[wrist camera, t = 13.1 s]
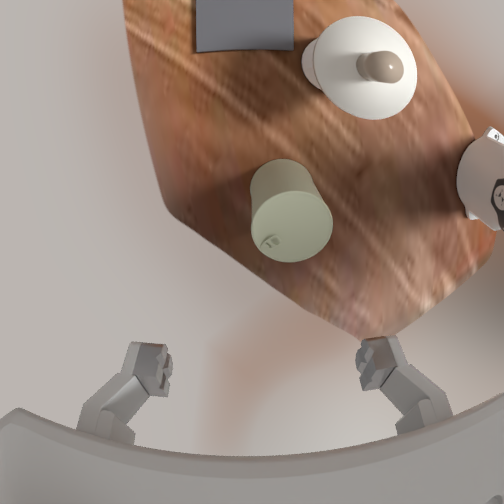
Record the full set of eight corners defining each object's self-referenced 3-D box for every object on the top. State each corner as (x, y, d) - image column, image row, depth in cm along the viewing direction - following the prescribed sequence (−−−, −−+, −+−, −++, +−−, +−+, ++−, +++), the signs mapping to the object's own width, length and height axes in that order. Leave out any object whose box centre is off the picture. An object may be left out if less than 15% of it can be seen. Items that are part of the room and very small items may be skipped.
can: (237, 183, 39) (232, 224, 29) (290, 146, 36) (306, 175, 26) (274, 227, 43) (281, 277, 34) (324, 195, 40) (348, 238, 30)
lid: (411, 31, 18) (438, 28, 14) (409, 124, 24) (434, 135, 20) (310, 10, 18) (323, -2, 14) (312, 113, 24) (325, 121, 20)
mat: (291, -24, 21) (292, -26, 20) (292, 50, 28) (293, 50, 27) (197, -22, 21) (196, -24, 20) (197, 52, 28) (196, 52, 27)
